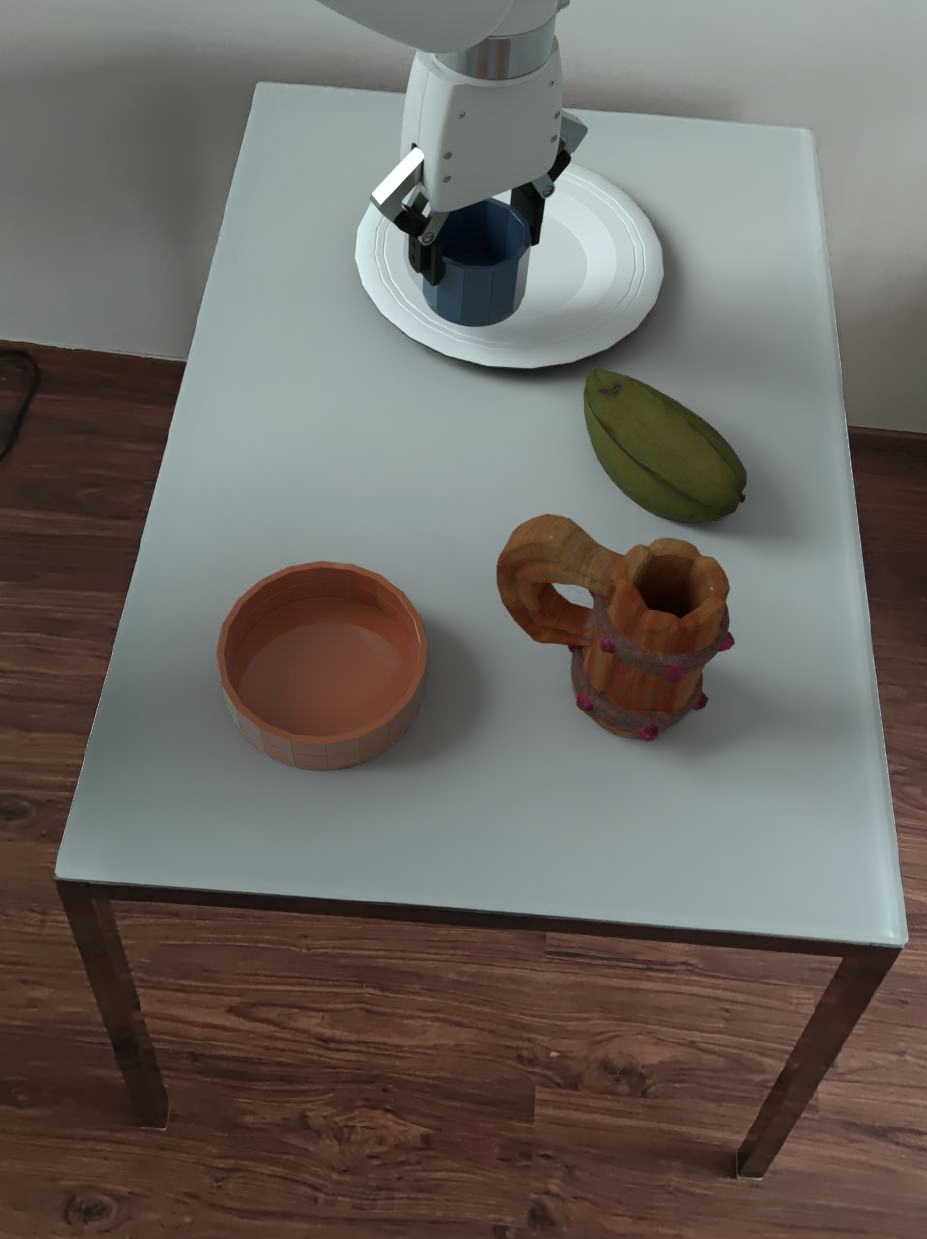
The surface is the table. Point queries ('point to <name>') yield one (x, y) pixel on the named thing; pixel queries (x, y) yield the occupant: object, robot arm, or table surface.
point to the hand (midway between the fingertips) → (475, 252)
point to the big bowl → (323, 665)
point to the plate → (534, 280)
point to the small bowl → (481, 264)
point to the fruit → (661, 450)
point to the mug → (620, 620)
